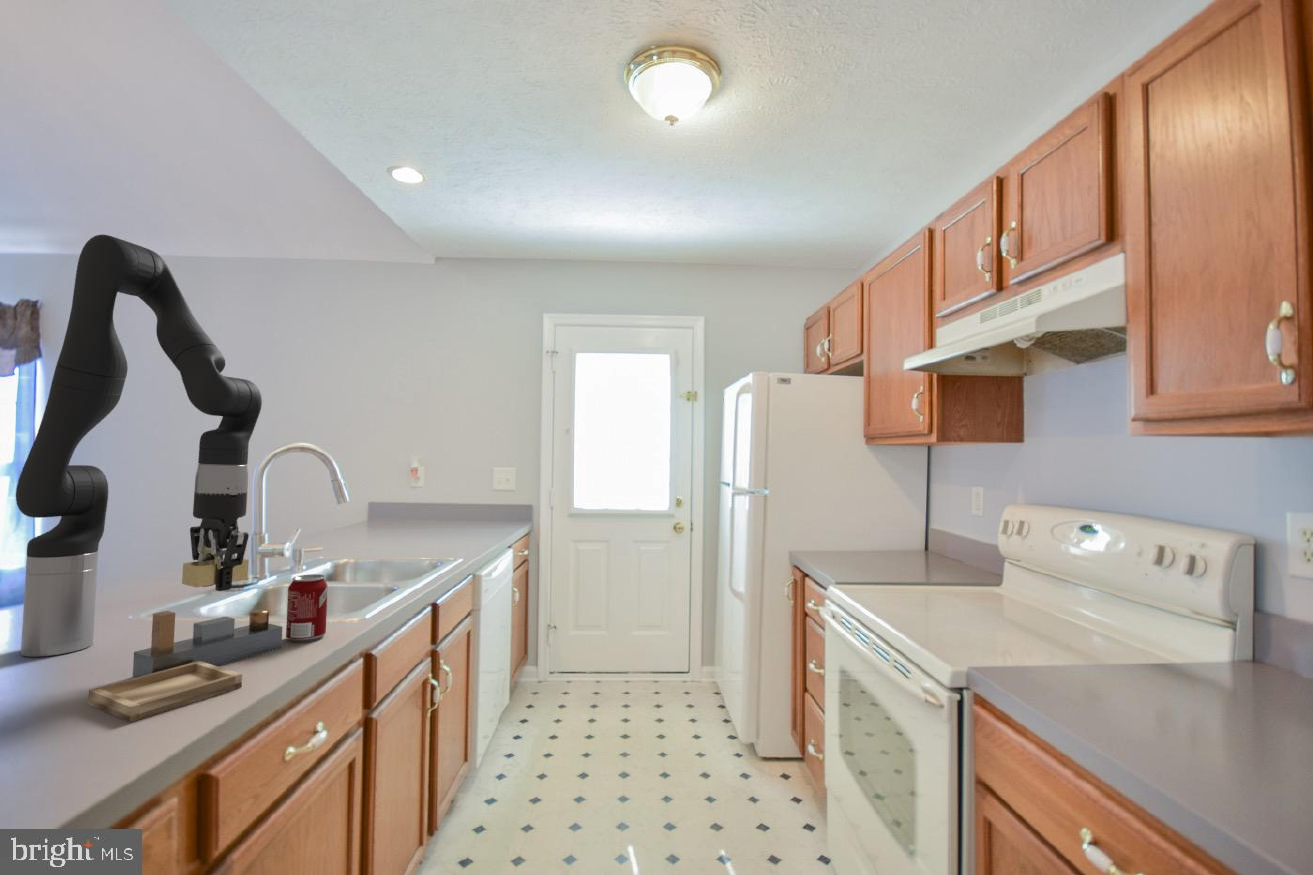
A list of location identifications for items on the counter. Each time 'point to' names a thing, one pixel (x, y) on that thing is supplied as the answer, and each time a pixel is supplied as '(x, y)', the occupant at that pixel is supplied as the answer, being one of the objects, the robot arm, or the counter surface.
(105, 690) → the parts tray
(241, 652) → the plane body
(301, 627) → the soda can
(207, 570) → the pale wooden block
